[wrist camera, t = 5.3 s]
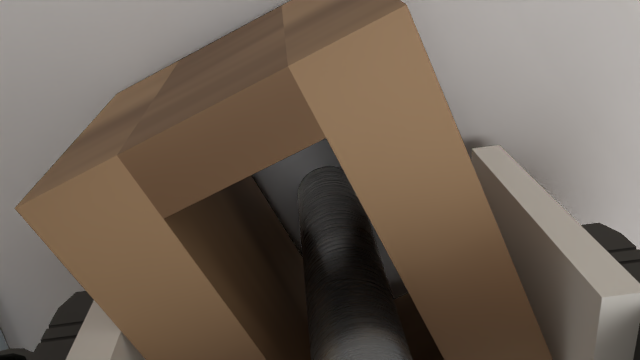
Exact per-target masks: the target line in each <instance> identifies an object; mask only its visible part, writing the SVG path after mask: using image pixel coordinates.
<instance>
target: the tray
mask: <svg viewBox="0 0 640 360" xmlns="http://www.w3.org/2000/svg"><path fill="white" fill-rule="evenodd" d="M6 349H9V348H8V345H7V343H6V341H5V338H4V336H3V334H2V331H1V329H0V351H2V350H6Z"/></svg>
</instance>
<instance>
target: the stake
mask: <svg viewBox="0 0 640 360" xmlns="http://www.w3.org/2000/svg"><path fill="white" fill-rule="evenodd" d="M298 207H299V220H300V232H301V244H302V256H303V269H304V281H305V293H306V305H307V318H308V330H309V342H310V354H311V360H413V359H412V356H411V353H410V350H409V347H408V343H407V340H406V337H405V334H404V331H403V328H402V324H401V321H400V318H399V315H398V312H397V308H396V305H395V302H394V299H393V296H392V293H391V289H390V286H389V283H388V280H387V277H386V274H385V270H384V267H383V264H382V261H381V258H380V254H379V251H378V248H377V245H376V242H375V239H374V235H373V232H372V229H371V226H370V223H369V219H368V216H367V214H366V212H365V210H364V208H363V206H362V204H361V202H360V200H359V199H358V197H357V195H356V193H355V191H354V189H353V187H352V185H351V184H350V182H349V180H348V178H347V176H346V174H345V172H344V170H343V169H340V168H337V167H322V168H319V169H316V170H314V171H312V172H311V173H309V174H308V175H307V176H306V177H305V178H304V179H303V180H302V182H301V184H300V186H299V189H298Z"/></svg>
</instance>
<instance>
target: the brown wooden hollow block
mask: <svg viewBox="0 0 640 360" xmlns="http://www.w3.org/2000/svg"><path fill="white" fill-rule="evenodd" d="M325 138H326V139H327V140H328V142H329V144H330V146H331V148H332V150H333V152H334V154H335V155H336V157H337V159H338V161H339V163H340V165H341V167H342V169H343V170H344V172H345V174H346V176H347V178H348V180H349V182H350V184H351V185H352V187H353V189H354V191H355V193H356V195H357V197H358V199H359V200H360V202H361V204H362V206H363V208H364V210H365V212H366V214H367V215H368V217H369V219H370V221H371V223H372V225H373V227H374V229H375V230H376V232H377V234H378V236H379V238H380V240H381V242H382V244H383V245H384V247H385V249H386V251H387V253H388V255H389V257H390V259H391V260H392V262H393V264H394V266H395V268H396V270H397V272H398V274H399V275H400V277H401V279H402V281H403V283H404V285H405V287H406V289H407V290H408V292H409V293H407V294H405V295H403V296H400V297H398V298H396V299H394V302H395V305H396V308H397V312H398V315H399V318H400V321H401V324H402V328H403V331H404V334H405V337H406V340H407V343H408V347H409V350H410V353H411V356H412V359H413V360H553V359H552V356H551V354H550V351H549V349H548V346H547V344H546V342H545V339H544V337H543V334H542V332H541V329H540V327H539V325H538V322H537V320H536V317H535V315H534V312H533V310H532V308H531V305H530V303H529V300H528V298H527V295H526V293H525V291H524V288H523V286H522V283H521V281H520V278H519V276H518V274H517V271H516V269H515V266H514V264H513V262H512V259H511V257H510V254H509V252H508V249H507V247H506V245H505V242H504V240H503V237H502V235H501V232H500V230H499V228H498V225H497V223H496V220H495V218H494V215H493V213H492V211H491V208H490V206H489V203H488V201H487V198H486V196H485V194H484V191H483V189H482V186H481V184H480V181H479V179H478V177H477V174H476V172H475V169H474V167H473V164H472V162H471V160H470V157H469V155H468V152H467V150H466V148H465V145H464V143H463V140H462V138H461V135H460V133H459V131H458V128H457V126H456V123H455V121H454V118H453V116H452V114H451V111H450V109H449V106H448V104H447V101H446V99H445V97H444V94H443V92H442V89H441V87H440V84H439V82H438V80H437V77H436V75H435V72H434V70H433V67H432V65H431V63H430V60H429V58H428V55H427V53H426V51H425V48H424V46H423V43H422V41H421V38H420V36H419V34H418V31H417V29H416V26H415V24H414V21H413V19H412V17H411V14H410V12H409V9H408V7H407V5H406V4H405V3H403V2H402V1H400V0H291V1H289V2H287V3H285V4H283V5H282V6H280V7H278V8H276V9H274V10H272V11H270V12H269V13H267V14H265V15H263V16H261V17H259V18H257V19H255V20H254V21H252V22H250V23H248V24H246V25H244V26H242V27H241V28H239V29H237V30H235V31H233V32H231V33H229V34H227V35H226V36H224V37H222V38H220V39H218V40H216V41H214V42H213V43H211V44H209V45H207V46H205V47H203V48H201V49H200V50H198V51H196V52H194V53H192V54H190V55H188V56H186V57H185V58H183V59H181V60H179V61H177V62H175V63H173V64H172V65H170V66H168V67H166V68H164V69H162V70H160V71H158V72H157V73H155V74H153V75H151V76H149V77H147V78H145V79H144V80H142V81H140V82H138V83H136V84H134V85H132V86H131V87H129V88H127V89H125V90H123V91H121V92H119V93H117V94H116V95H115V96H114V97H113V99H112V100H111V101H110V102H109V103H108V104H107V105H106V106H105V108H104V109H103V110H102V111H101V112H100V113H99V114H98V115H97V117H96V118H95V119H94V120H93V121H92V122H91V123H90V124H89V125H88V127H87V128H86V129H85V130H84V131H83V132H82V133H81V134H80V136H79V137H78V138H77V139H76V140H75V141H74V142H73V143H72V145H71V146H70V147H69V148H68V149H67V150H66V151H65V152H64V153H63V155H62V156H61V157H60V158H59V159H58V160H57V161H56V162H55V164H54V165H53V166H52V167H51V168H50V169H49V170H48V171H47V173H46V174H45V175H44V176H43V177H42V178H41V179H40V180H39V181H38V183H37V184H36V185H35V186H34V187H33V188H32V189H31V190H30V192H29V193H28V194H27V195H26V196H25V197H24V198H23V199H22V201H21V202H20V203H19V204H18V205H17V206H16V207H15V209H16V211H17V212H18V213H19V214H20V215H21V216H22V217H23V219H24V220H25V221H26V222H27V223H28V224H29V226H30V227H31V228H32V229H33V230H34V231H35V232H36V234H37V235H38V236H39V237H40V238H41V239H42V241H43V242H44V243H45V244H46V245H47V246H48V247H49V249H50V250H51V251H52V252H53V253H54V254H55V256H56V257H57V258H58V259H59V260H60V261H61V262H62V264H63V265H64V266H65V267H66V268H67V269H68V271H69V272H70V273H71V274H72V275H73V276H74V277H75V279H76V280H77V281H78V282H79V283H80V284H81V286H82V287H83V288H84V289H85V290H86V291H87V292H88V294H89V295H90V296H91V297H92V298H93V299H94V301H95V302H96V303H97V304H98V305H99V306H100V307H101V309H102V310H103V311H104V312H105V313H106V314H107V316H108V317H109V318H110V319H111V320H112V321H113V322H114V324H115V325H116V326H117V327H118V328H119V329H120V331H121V332H122V333H123V334H124V335H125V336H126V337H127V339H128V340H129V341H130V342H131V343H132V344H133V346H134V347H135V348H136V349H137V350H138V351H139V352H140V354H141V355H142V356H143V357H144V358H145V359H146V360H311V354H310V342H309V330H308V318H307V305H306V293H305V281H304V269H303V258H302V257H301V255H300V253H299V252H298V250H297V249H296V247H295V245H294V244H293V242H292V241H291V239H290V237H289V236H288V234H287V232H286V231H285V229H284V228H283V226H282V224H281V223H280V221H279V220H278V218H277V216H276V215H275V213H274V212H273V210H272V208H271V207H270V205H269V203H268V202H267V200H266V199H265V197H264V195H263V194H262V192H261V191H260V189H259V187H258V186H257V184H256V183H255V181H254V179H253V178H252V176H251V175H252V174H255V173H257V172H259V171H261V170H263V169H265V168H267V167H269V166H271V165H273V164H275V163H277V162H279V161H281V160H283V159H285V158H287V157H289V156H291V155H293V154H295V153H297V152H299V151H301V150H303V149H305V148H307V147H309V146H311V145H313V144H315V143H317V142H319V141H321V140H323V139H325Z"/></svg>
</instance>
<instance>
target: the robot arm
mask: <svg viewBox="0 0 640 360" xmlns="http://www.w3.org/2000/svg"><path fill="white" fill-rule="evenodd" d="M471 162H472V164H473V167H474V169H475V172H476V174H477V177H478V179H479V181H480V184H481V186H482V189H483V191H484V194H485V196H486V198H487V201H488V203H489V206H490V208H491V211H492V213H493V215H494V218H495V220H496V223H497V225H498V228H499V230H500V232H501V235H502V237H503V240H504V242H505V245H506V247H507V249H508V252H509V254H510V257H511V259H512V262H513V264H514V266H515V269H516V271H517V274H518V276H519V278H520V281H521V283H522V286H523V288H524V291H525V293H526V295H527V298H528V300H529V303H530V305H531V308H532V310H533V312H534V315H535V317H536V320H537V322H538V325H539V327H540V329H541V332H542V334H543V337H544V339H545V342H546V344H547V346H548V349H549V351H550V354H551V356H552V359H553V360H640V250H639V249H638V250H637V249H636V246H635V245H634V244H632V243H631V242H630V241H629V240H628V239H627V238H626V237H625V236H624V235H622V234H621V233H619V232H617V231H615V230H613V229H611V228H609V227H607V226H605V225H603V224H600V223H594V224H586V225H580V224H579V223H578V222H577V221H576V220H575V219H574V218H573V217H572V216H571V215H570V214H569V213H568V212H567V211H566V210H565V209H564V208H563V207H562V206H561V205H560V204H559V203H558V202H557V201H556V200H555V199H554V198H553V197H552V196H551V195H550V194H549V193H548V192H547V191H546V190H544V189H543V188H542V187H541V186H540V185H539V184H538V183H537V182H536V181H535V180H534V179H533V178H532V177H531V176H530V175H529V174H528V173H527V172H526V171H525V170H524V169H523V168H522V167H521V166H520V165H519V164H518V163H517V162H516V161H515V160H514V159H513V158H512V157H511V156H510V155H509V154H508V153H507V152H506V151H505V150H504V149H503V148H502V147H501V146H500V145H495V146H487V147H479V148H472V156H471ZM0 360H146V359H145V358H144V357H143V356H142V355H141V354H140V352H139V351H138V350H137V349H136V348H135V347H134V346H133V344H132V343H131V342H130V341H129V340H128V339H127V337H126V336H125V335H124V334H123V333H122V332H121V331H120V329H119V328H118V327H117V326H116V325H115V324H114V322H113V321H112V320H111V319H110V318H109V317H108V316H107V314H106V313H105V312H104V311H103V310H102V309H101V307H100V306H99V305H98V304H97V303H96V302H95V301H94V299H93V298H92V297H91V296H90V295H89V294H88V292H87V291H83V292H76V293H75V294H74V295H73V296H71V297H70V298H69V299H68V300H67V301H66V302H65V303H64V304H63V305H61V306H60V307H59V308H58V310H57V312H56V313H55V315H54V317H53V319H52V321H51V322H50V324H49V329H46V331H45V333H44V335H43V337H42V338H41V343H39V344H38V346H37V347H36V349H35V351H34V353H33V352H31V351H29V350H26V349H24V348H13V349H6V350H2V351H0Z"/></svg>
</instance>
